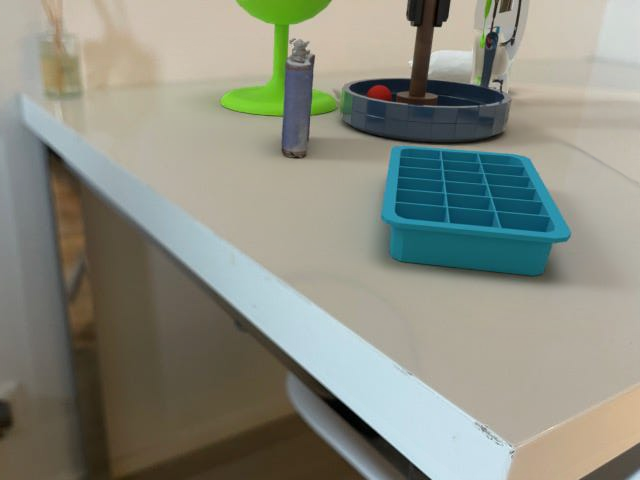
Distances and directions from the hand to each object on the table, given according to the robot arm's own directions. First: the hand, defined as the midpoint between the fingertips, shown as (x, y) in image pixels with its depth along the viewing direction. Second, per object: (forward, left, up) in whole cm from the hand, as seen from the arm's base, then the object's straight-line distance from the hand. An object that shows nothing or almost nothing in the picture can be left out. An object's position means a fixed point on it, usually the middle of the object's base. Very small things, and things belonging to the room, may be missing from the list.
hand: (426, 25), depth 78 cm
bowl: (0, +2, -11) cm, 11 cm away
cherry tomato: (+4, -2, -9) cm, 10 cm away
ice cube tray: (+4, +36, -11) cm, 38 cm away
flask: (+16, +14, -11) cm, 24 cm away
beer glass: (-13, -14, -11) cm, 22 cm away
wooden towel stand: (0, 0, -9) cm, 9 cm away
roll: (-10, -26, -11) cm, 30 cm away
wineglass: (+17, -9, -11) cm, 22 cm away
